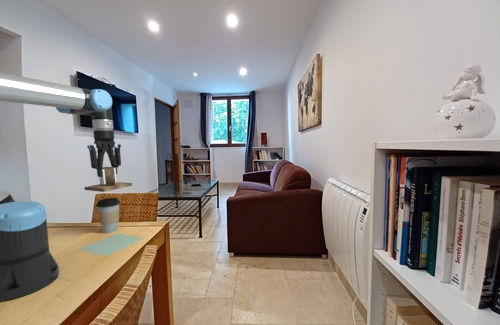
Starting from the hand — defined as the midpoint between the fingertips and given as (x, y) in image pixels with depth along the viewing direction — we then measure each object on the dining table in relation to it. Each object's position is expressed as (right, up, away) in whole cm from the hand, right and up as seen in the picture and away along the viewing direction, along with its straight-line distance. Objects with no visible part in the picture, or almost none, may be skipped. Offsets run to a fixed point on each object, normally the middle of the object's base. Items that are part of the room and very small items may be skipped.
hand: (108, 182), depth 100 cm
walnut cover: (0, -2, 0) cm, 2 cm away
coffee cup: (-1, -23, +4) cm, 24 cm away
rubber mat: (+8, -24, -10) cm, 27 cm away
